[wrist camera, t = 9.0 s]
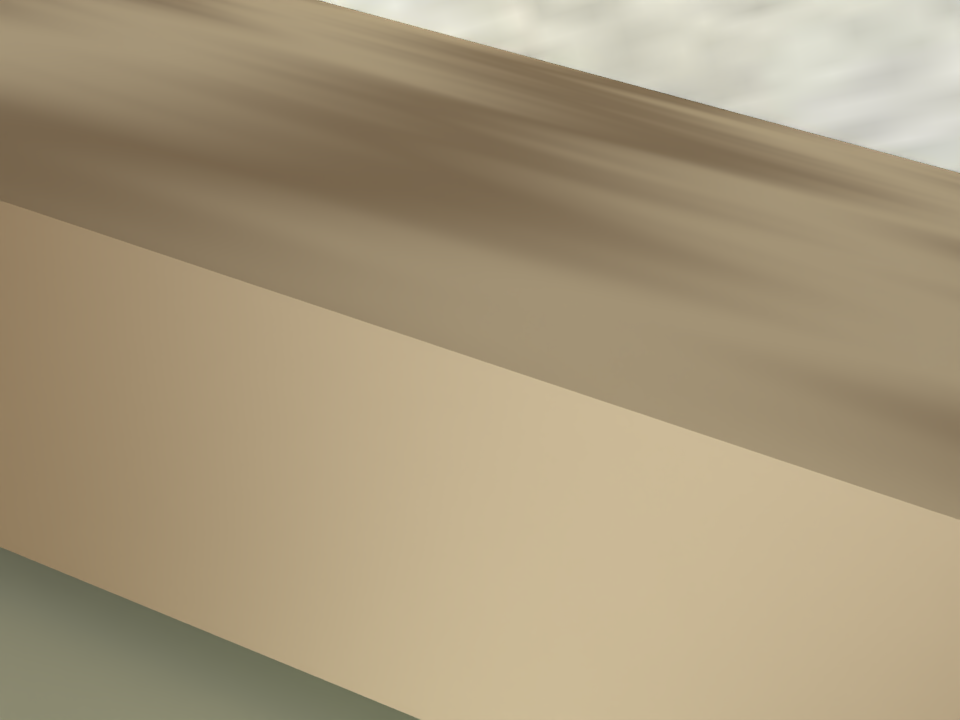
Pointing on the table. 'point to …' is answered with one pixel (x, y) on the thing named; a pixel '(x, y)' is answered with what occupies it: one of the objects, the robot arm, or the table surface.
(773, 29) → the table surface
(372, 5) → the table surface
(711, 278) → the brown toy sofa
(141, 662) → the cabinet box
